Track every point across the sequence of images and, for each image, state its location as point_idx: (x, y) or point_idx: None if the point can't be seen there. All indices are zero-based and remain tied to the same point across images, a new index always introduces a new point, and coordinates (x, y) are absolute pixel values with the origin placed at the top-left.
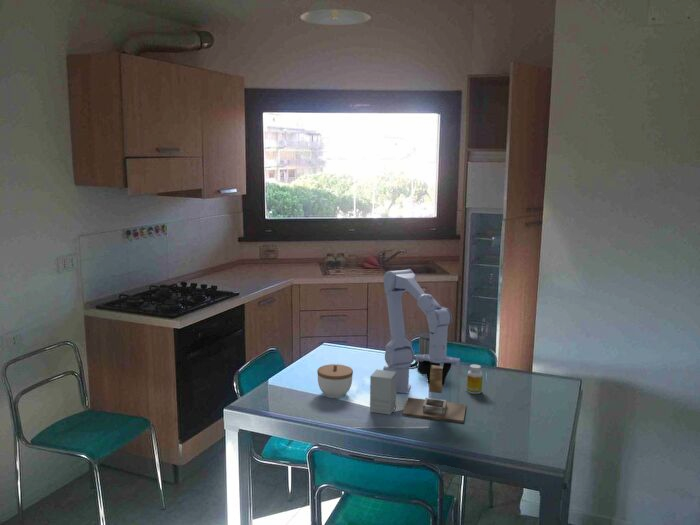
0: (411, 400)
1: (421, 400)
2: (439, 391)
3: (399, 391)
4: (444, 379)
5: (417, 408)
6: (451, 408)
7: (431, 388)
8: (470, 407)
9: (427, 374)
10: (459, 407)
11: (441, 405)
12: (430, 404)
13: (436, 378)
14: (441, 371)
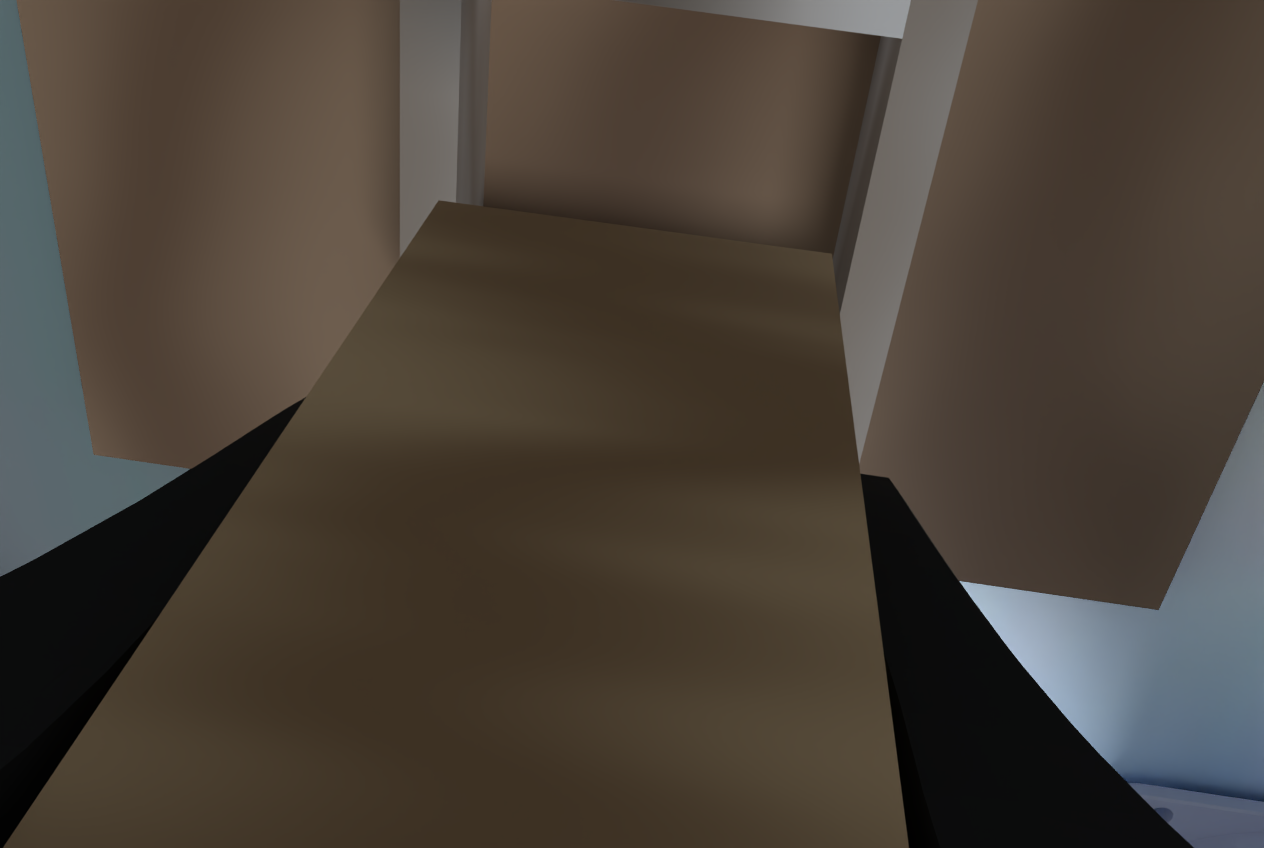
0: (1121, 494)
1: (914, 514)
2: (487, 229)
3: (1261, 819)
4: (162, 498)
5: (1062, 108)
6: (321, 226)
7: (762, 299)
8: (34, 402)
9: (1023, 722)
10: (178, 296)
11: None
12: None
13: (532, 514)
14: (106, 797)
